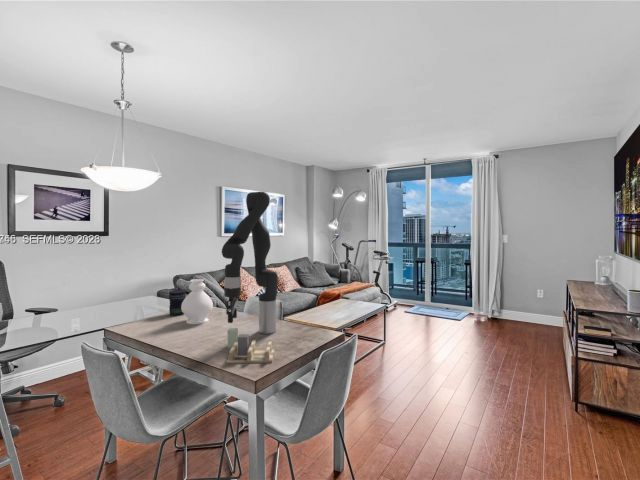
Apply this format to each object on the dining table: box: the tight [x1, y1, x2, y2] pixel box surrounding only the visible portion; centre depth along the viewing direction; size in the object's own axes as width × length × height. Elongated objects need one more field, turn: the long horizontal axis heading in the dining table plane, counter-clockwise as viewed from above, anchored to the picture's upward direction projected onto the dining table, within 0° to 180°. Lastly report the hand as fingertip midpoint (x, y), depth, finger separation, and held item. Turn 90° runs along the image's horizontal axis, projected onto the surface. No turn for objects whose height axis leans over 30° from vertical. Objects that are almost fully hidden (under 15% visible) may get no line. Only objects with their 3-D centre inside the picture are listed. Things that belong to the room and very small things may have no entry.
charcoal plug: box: [238, 333, 250, 356], centre depth 147 cm, size 4×4×8 cm
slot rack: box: [225, 339, 276, 364], centre depth 148 cm, size 15×19×4 cm
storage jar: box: [168, 289, 187, 317], centre depth 218 cm, size 10×10×15 cm
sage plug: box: [227, 327, 239, 349], centre depth 160 cm, size 4×4×8 cm
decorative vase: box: [181, 278, 214, 325], centre depth 201 cm, size 18×18×25 cm
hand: (232, 320), depth 160 cm, fingers open, 8 cm apart
